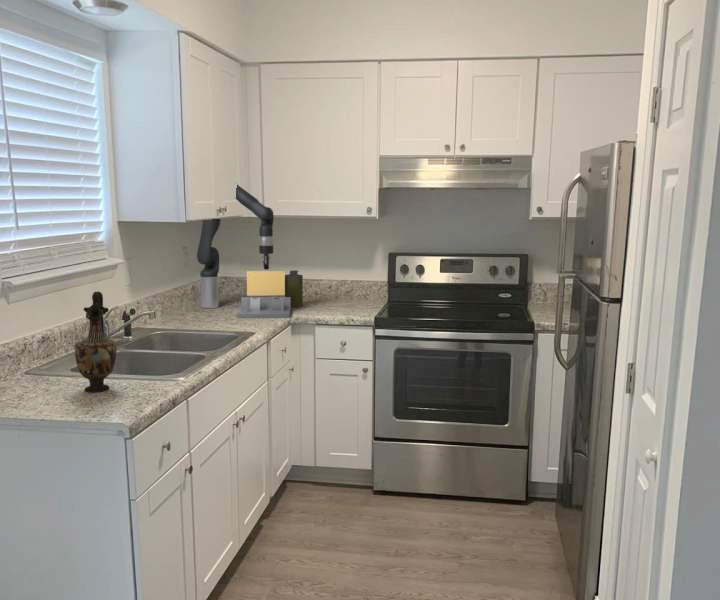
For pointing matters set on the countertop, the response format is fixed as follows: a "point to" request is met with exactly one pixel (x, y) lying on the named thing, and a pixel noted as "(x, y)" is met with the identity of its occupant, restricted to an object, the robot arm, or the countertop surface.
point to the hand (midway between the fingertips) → (266, 276)
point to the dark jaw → (276, 304)
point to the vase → (96, 348)
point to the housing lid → (265, 283)
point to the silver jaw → (255, 304)
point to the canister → (294, 288)
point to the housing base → (265, 308)
